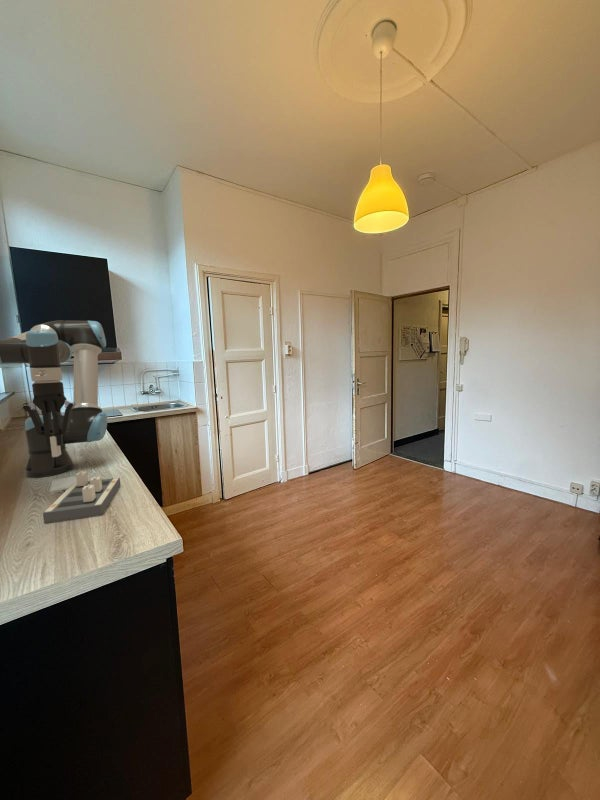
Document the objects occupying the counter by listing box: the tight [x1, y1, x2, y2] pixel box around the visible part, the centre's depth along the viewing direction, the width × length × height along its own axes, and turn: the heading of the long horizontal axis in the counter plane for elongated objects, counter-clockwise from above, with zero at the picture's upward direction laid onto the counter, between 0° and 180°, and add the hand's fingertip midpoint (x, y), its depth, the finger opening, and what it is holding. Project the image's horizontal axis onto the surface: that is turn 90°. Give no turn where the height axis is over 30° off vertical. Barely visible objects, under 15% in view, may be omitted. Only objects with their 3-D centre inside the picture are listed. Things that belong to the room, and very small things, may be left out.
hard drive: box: [49, 475, 77, 495], centre depth 113 cm, size 2×8×12 cm
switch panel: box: [42, 477, 121, 524], centre depth 99 cm, size 22×14×3 cm, turn 17°
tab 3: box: [89, 475, 103, 492], centre depth 99 cm, size 2×2×4 cm
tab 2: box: [82, 484, 96, 502], centre depth 93 cm, size 2×2×4 cm
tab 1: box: [75, 470, 89, 487], centre depth 104 cm, size 2×2×4 cm
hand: (56, 455), depth 101 cm, fingers closed
